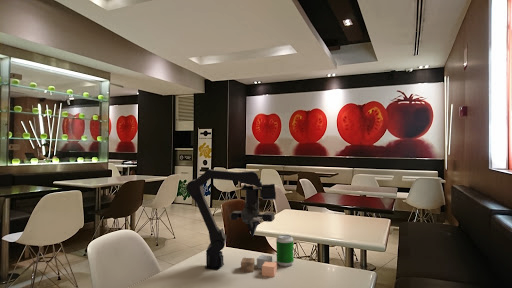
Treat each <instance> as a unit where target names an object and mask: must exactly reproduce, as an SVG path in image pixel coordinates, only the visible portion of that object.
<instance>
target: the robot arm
mask: <svg viewBox="0 0 512 288" xmlns="http://www.w3.org/2000/svg"><path fill="white" fill-rule="evenodd" d="M210 180H221V181H222V180H223V181H234V182H239V183H242V184H243V186H241V188H240V190H241V191H244V192H245V203H244V208H243V209H242V210H234V211H232V212H231V213H230V215H229V218H230V220H234V221H237V220H238V219H239V218H240V219H241V221H242V222H243V223H245V224H246V226H247V228H248V230H249V233H250V236H251V237H254V236H255V233H256V231H257V228H258V225H259V224H260V223H261V221H263V222H266V223H269V222H274V220H275V219H276V218H275V217H276V216H275V213H274V212H267V211H266V212H264V213H260V208H259V207H260V201H259V200H260V199H259V197H260V198H261V199H262V200H263V201H265V200H266V201H268V200H270V201H272V200H273V201H275V200H276V199H277V198H276V197H277V196H276V194H277V193H276V185H275V183H270V184H268V183H267V184H266V183H265V184H263V183H262V181H261V180H260V179H259V175H258V173H257V172H256V171H254V170H244V171H228V170H219V169H218V170H216V169H212V168H209V169H206V170H205V172H204V173H203V174H201V175H199V176H198V177H197V178H195V179H193V180H190V181H189V182H187V184H186V187H185V189H186V191H187V193H188V194H189V196H190V197H191V198H192V199H193V201H194V202H195V204H196V205H197V208H198V210H199V213H200V215H201V217H202V219H203V222H204V224H205V226H206V229H207V231H208V237H209V241H210V243H209V244H208V246H207V248H206V250H205V252H206V253H205V254H206V256H205V257H206V258H205V259H206V264H205V266H204V269H210V270H219V269H221V268H222V267H223V266H224V265H225V263H224V255H223V249H224V248H225V246H226V242H227V234H225V231H224V228H223V227H222V228H221V229H220V228H219V226H218V225H217V223H216V220H215V218H214V216H213V213H212V211H211V209H210V206H209V204H208V202H207V199H206V196H205V191H204V190H205V189H204V186H203V185H205V184H206V183H208V181H210ZM254 186H255V187H254Z"/></svg>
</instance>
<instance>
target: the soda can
mask: <svg viewBox="0 0 512 288" xmlns="http://www.w3.org/2000/svg"><path fill="white" fill-rule="evenodd" d="M294 251H295V250H294V237H292V235H290V234H280V235H278V236H277V237H276V263H277V265H279V266H281V267H290V266H292V265H293V264H294V262H295V259H294V258H295V255H294V253H295V252H294Z"/></svg>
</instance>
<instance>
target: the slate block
mask: <svg viewBox="0 0 512 288" xmlns="http://www.w3.org/2000/svg"><path fill="white" fill-rule="evenodd" d="M265 261H266V262H273V255H266V254H261V255H259V256H258V257H257V258H256V268H259V269H262V265H263V264H264V262H265Z"/></svg>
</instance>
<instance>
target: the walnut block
mask: <svg viewBox="0 0 512 288" xmlns="http://www.w3.org/2000/svg"><path fill="white" fill-rule="evenodd" d="M254 270H255V257H243V258H242V259H241V261H240V272H244V273H246V272H248V273H250V272H251V273H253V272H254Z"/></svg>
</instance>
